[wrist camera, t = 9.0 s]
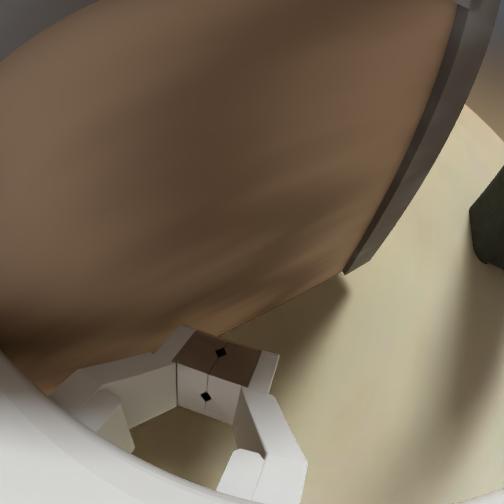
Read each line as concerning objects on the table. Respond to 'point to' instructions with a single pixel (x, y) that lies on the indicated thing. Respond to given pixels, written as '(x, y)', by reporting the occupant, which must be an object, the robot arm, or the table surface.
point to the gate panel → (207, 158)
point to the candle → (489, 222)
